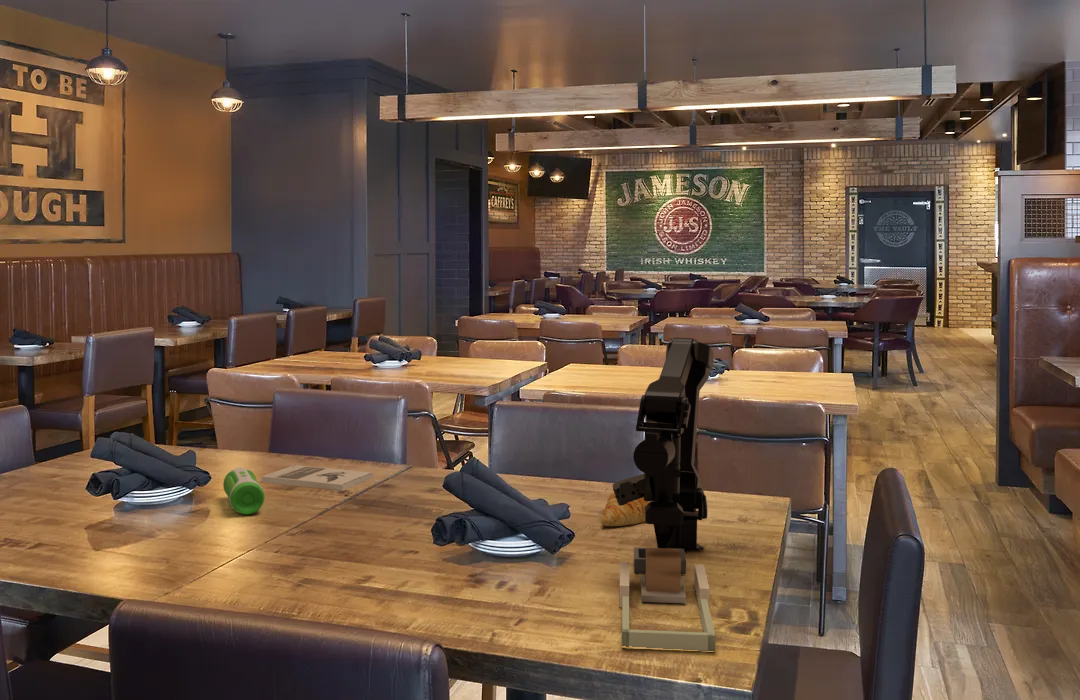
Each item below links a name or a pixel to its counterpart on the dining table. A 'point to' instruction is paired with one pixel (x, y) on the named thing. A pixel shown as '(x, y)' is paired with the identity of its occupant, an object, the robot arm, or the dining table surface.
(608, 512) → the croissant
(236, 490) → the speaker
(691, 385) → the robot arm
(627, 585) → the channel
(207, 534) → the dining table surface
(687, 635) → the bay
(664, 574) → the brown block on plate
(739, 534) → the dining table surface
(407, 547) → the dining table surface
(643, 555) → the tray
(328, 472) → the book
